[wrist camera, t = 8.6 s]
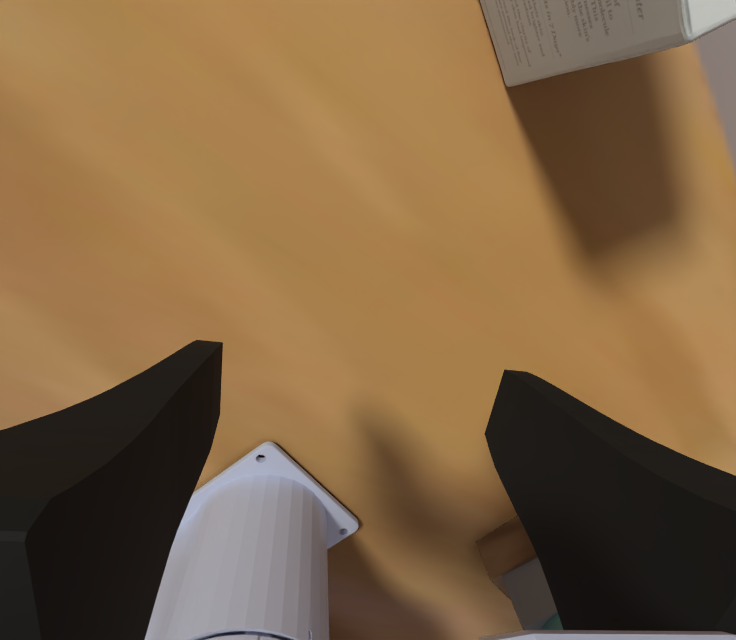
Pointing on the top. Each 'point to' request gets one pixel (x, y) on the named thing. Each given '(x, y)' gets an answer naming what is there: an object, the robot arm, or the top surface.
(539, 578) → the top block
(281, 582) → the robot arm
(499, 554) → the base block
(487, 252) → the top surface
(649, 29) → the small box
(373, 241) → the top surface
